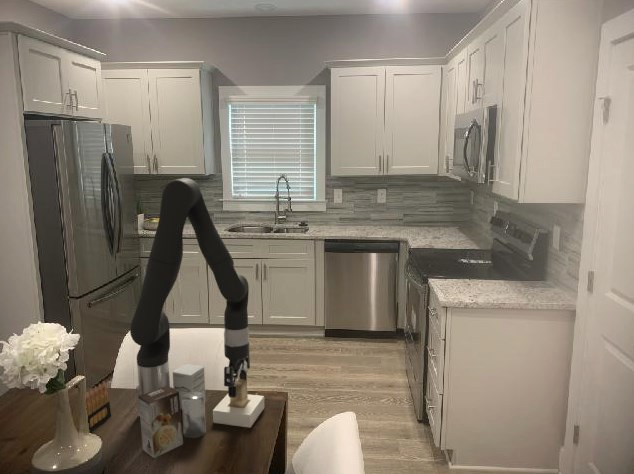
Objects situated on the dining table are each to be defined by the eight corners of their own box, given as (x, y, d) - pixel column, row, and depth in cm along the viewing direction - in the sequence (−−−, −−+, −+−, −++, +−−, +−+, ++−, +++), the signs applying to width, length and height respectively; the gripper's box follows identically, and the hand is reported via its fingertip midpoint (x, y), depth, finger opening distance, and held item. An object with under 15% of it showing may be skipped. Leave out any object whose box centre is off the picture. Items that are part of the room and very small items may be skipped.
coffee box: (171, 436, 144) (168, 384, 142) (183, 444, 140) (180, 391, 137) (141, 449, 138) (137, 395, 135) (153, 459, 133) (149, 403, 131)
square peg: (230, 417, 154) (229, 384, 152) (236, 411, 158) (235, 378, 156) (242, 419, 153) (241, 385, 151) (248, 412, 157) (246, 379, 155)
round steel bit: (179, 436, 144) (177, 401, 142) (190, 425, 150) (188, 390, 148) (199, 439, 142) (197, 403, 141) (209, 427, 149) (208, 393, 147)
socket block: (213, 422, 151) (212, 410, 151) (229, 403, 163) (229, 392, 162) (250, 427, 148) (250, 415, 148) (264, 407, 160) (264, 396, 159)
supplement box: (173, 408, 160) (171, 371, 158) (187, 398, 167) (185, 362, 165) (193, 413, 157) (190, 375, 155) (206, 402, 164) (204, 365, 162)
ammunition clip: (86, 434, 146) (83, 396, 144) (81, 433, 146) (77, 395, 144) (111, 416, 156) (108, 380, 154) (106, 415, 156) (103, 379, 154)
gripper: (234, 331, 159) (235, 379, 162) (215, 348, 146) (216, 400, 148) (256, 333, 157) (257, 381, 160) (238, 350, 144) (240, 403, 147)
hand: (237, 390), depth 154 cm, fingers open, 8 cm apart
